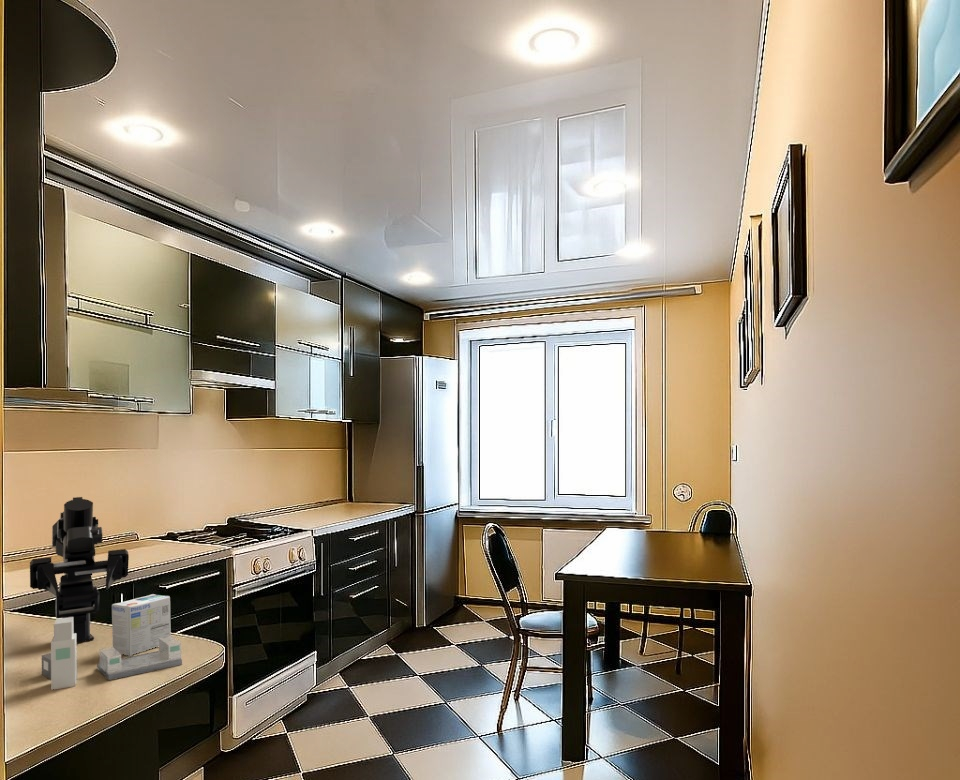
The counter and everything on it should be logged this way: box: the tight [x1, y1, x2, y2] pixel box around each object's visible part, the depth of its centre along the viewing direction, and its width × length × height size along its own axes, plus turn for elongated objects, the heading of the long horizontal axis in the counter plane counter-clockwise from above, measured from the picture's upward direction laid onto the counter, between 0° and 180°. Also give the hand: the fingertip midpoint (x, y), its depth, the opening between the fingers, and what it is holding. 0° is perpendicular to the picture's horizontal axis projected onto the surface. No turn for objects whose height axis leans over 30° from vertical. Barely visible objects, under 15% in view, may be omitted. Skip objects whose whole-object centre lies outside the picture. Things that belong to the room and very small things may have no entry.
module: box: [50, 617, 78, 691], centre depth 145 cm, size 5×4×12 cm
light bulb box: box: [111, 593, 172, 657], centre depth 168 cm, size 11×7×11 cm, turn 149°
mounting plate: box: [96, 635, 183, 681], centre depth 155 cm, size 10×14×4 cm
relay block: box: [41, 652, 51, 681], centre depth 151 cm, size 5×4×4 cm
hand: (82, 590), depth 154 cm, fingers open, 9 cm apart
